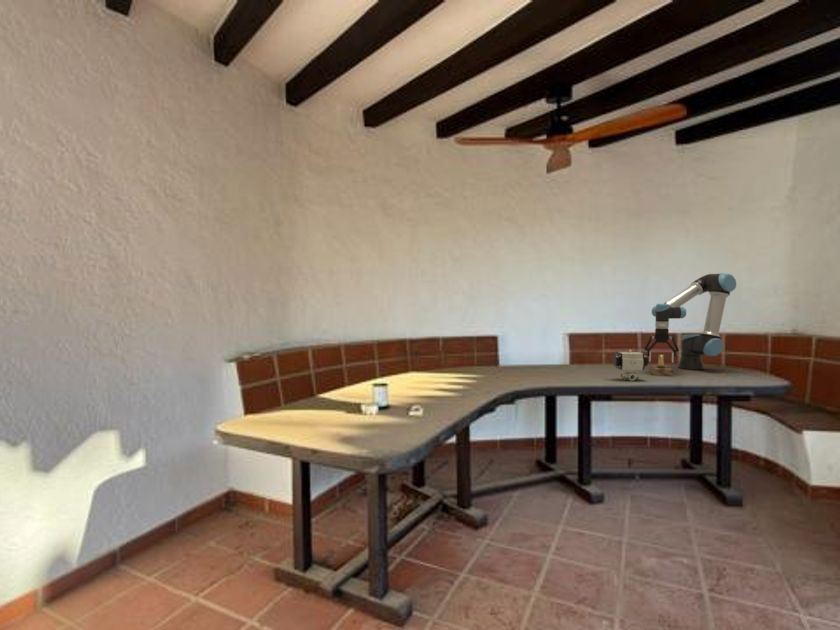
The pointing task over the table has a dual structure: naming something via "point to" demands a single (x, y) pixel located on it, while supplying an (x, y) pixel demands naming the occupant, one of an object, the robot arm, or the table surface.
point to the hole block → (661, 370)
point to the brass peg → (661, 361)
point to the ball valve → (630, 363)
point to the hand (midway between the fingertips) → (661, 362)
